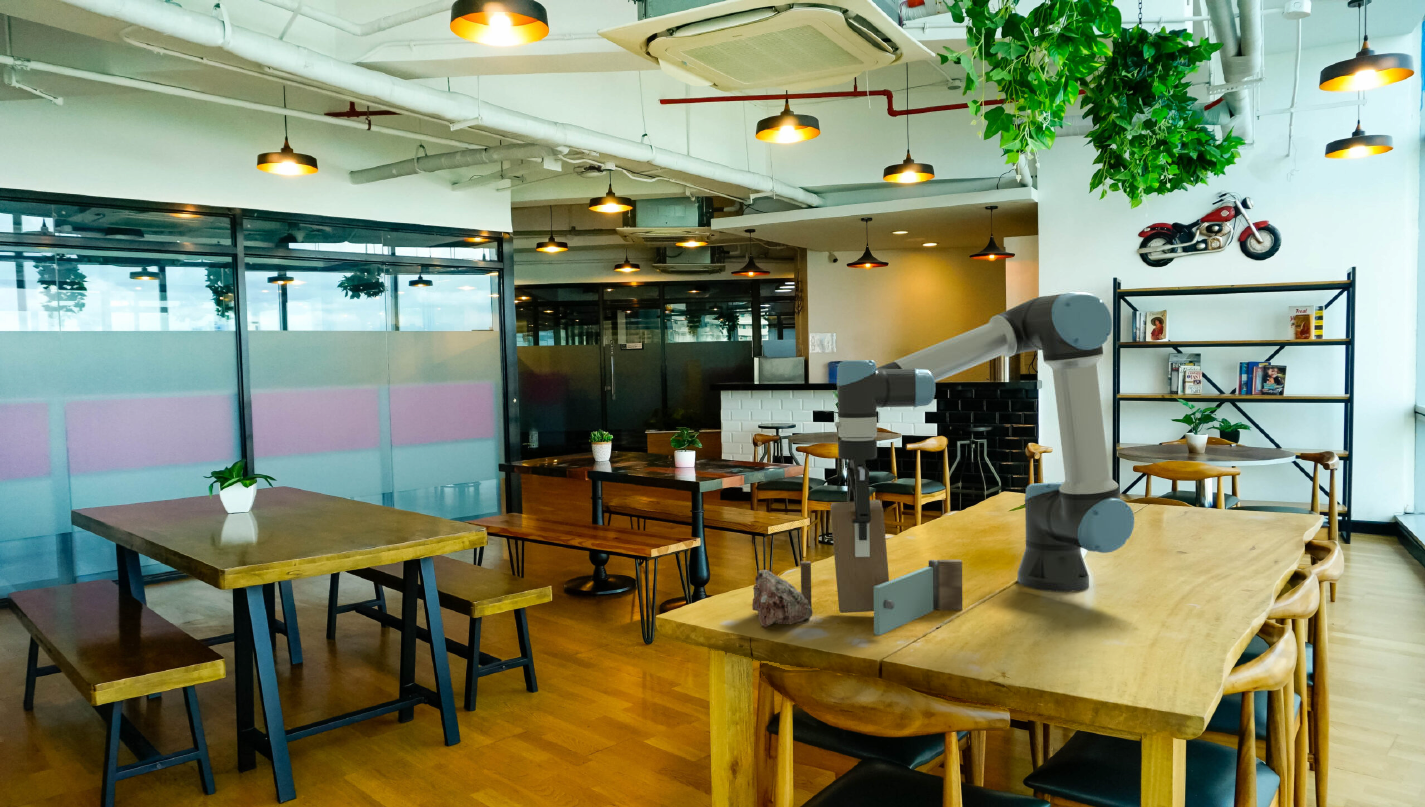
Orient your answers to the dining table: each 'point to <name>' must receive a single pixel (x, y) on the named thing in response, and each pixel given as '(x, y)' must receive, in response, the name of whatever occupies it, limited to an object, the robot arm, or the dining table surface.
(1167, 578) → the dining table surface
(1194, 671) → the dining table surface
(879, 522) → the wooden block
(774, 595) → the rock
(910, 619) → the door
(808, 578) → the doorframe
